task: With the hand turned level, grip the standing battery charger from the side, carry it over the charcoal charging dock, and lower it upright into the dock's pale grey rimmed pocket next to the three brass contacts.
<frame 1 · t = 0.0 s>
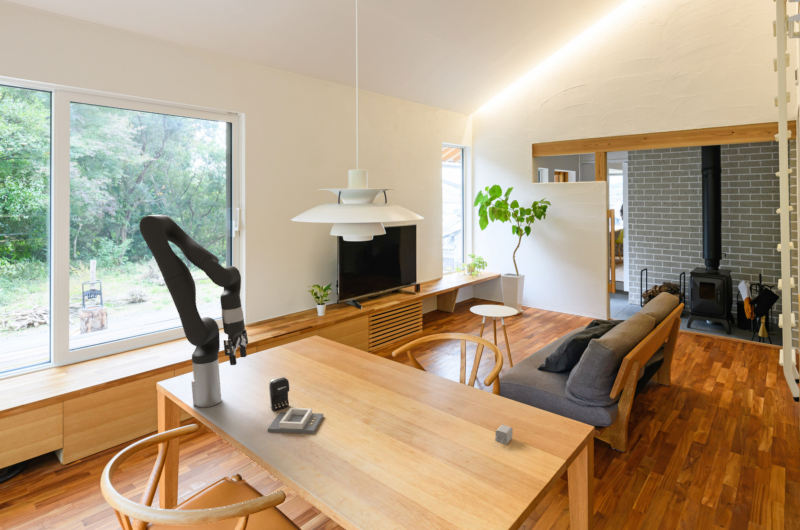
hand: (238, 360, 171), 17 cm above the table, tool pointing down, fingers open, 8 cm apart
charging dock: (296, 424, 157), on the table
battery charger: (280, 408, 169), on the table
usb wall charger: (502, 442, 144), on the table
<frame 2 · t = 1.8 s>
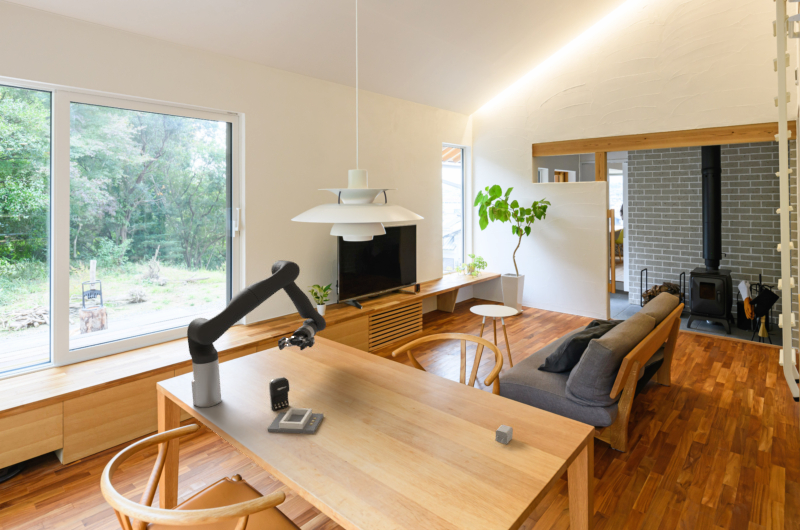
hand: (290, 347, 180), 19 cm above the table, tool horizontal, fingers open, 8 cm apart
nothing on the table moved.
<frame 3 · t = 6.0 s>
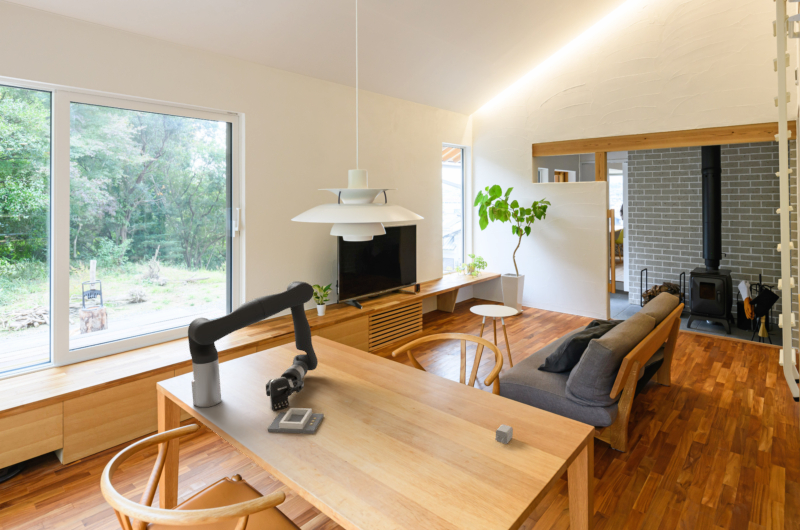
hand: (277, 394, 166), 7 cm above the table, tool horizontal, fingers closed on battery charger, 7 cm apart
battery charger: (280, 408, 169), on the table, touching gripper
everything else where it was.
when the fingers open (10 cm above the table, at t = 11.0 s): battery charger stays where it is, resting on charging dock.
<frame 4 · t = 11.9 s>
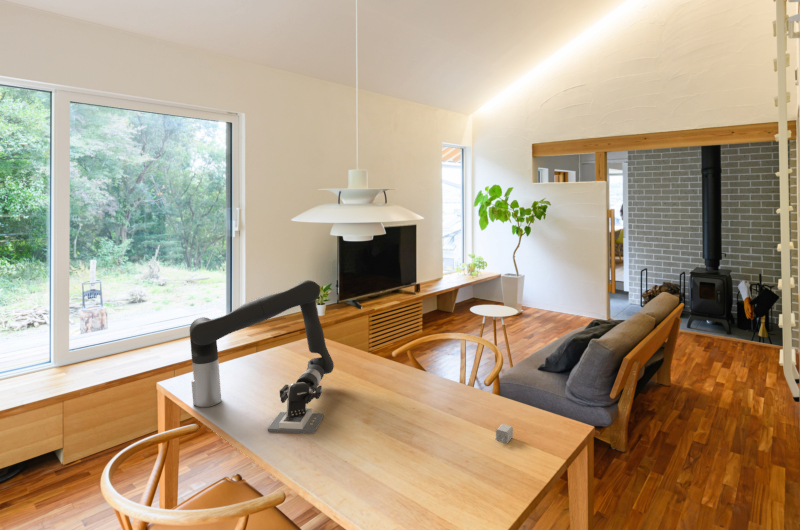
hand: (294, 400, 155), 9 cm above the table, tool horizontal, fingers open, 8 cm apart
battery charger: (296, 416, 157), point 3 cm above the table, touching charging dock, gripper
everything else where it was.
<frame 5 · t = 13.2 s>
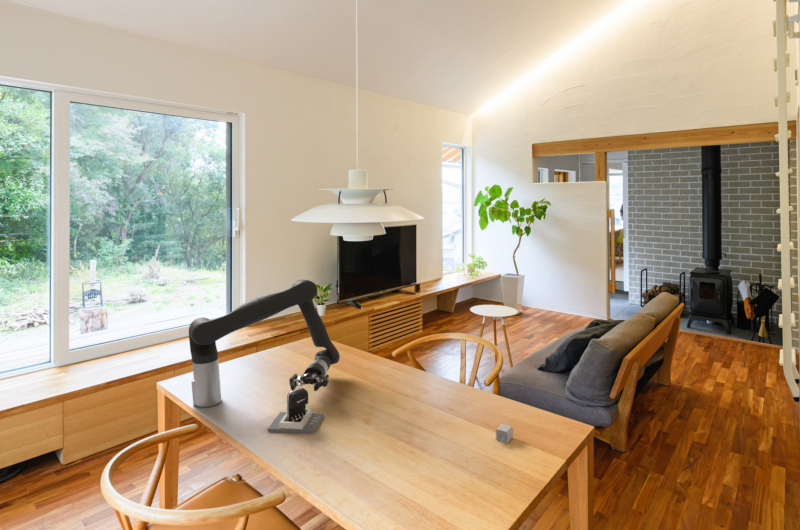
hand: (303, 388, 165), 9 cm above the table, tool horizontal, fingers open, 8 cm apart
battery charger: (297, 420, 157), point 1 cm above the table, touching charging dock
everything else where it was.
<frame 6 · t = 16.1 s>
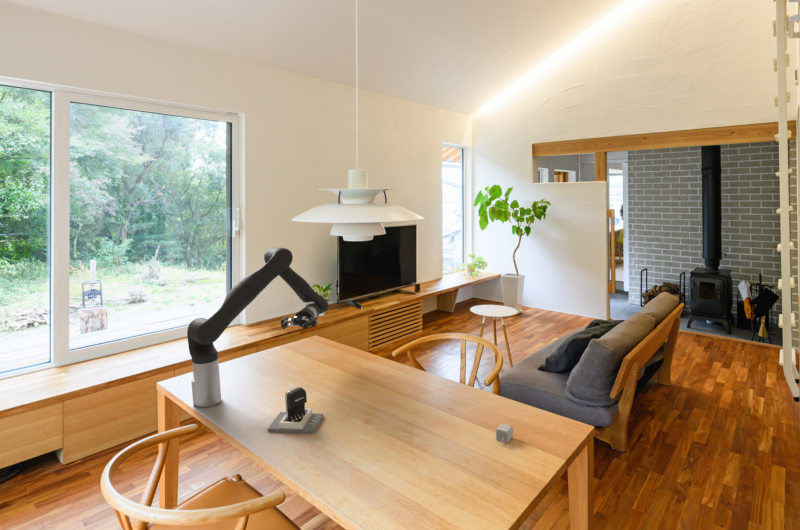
hand: (293, 326, 178), 28 cm above the table, tool horizontal, fingers open, 8 cm apart
at the end: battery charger 0.4 cm off-centre on the charging dock, point 1.0 cm above the charging dock's base; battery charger tilted 0°; the gripper is holding nothing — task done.
